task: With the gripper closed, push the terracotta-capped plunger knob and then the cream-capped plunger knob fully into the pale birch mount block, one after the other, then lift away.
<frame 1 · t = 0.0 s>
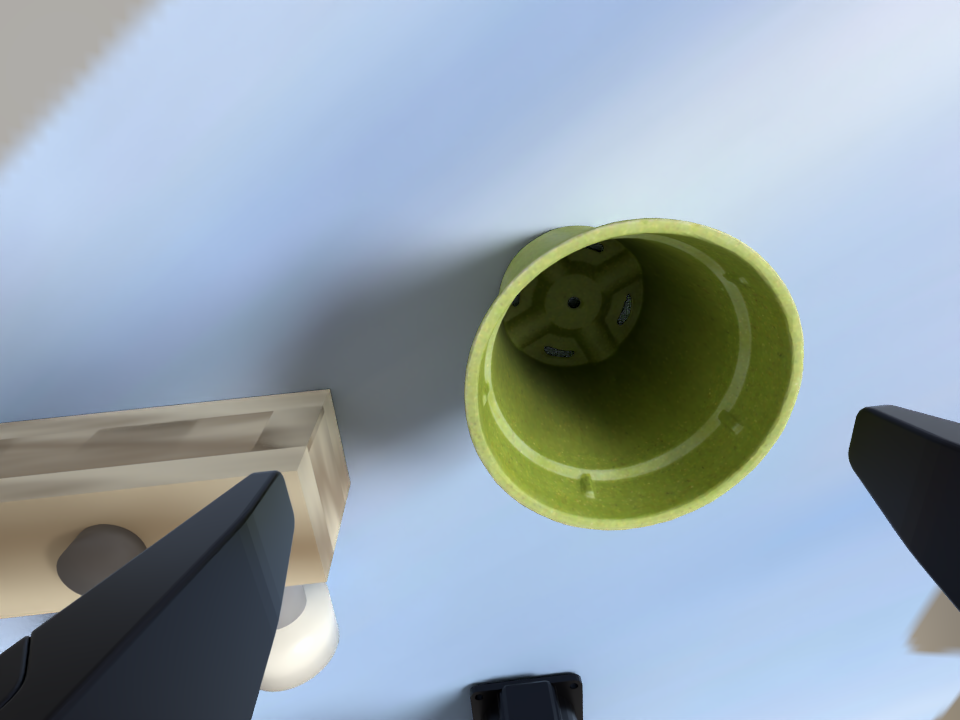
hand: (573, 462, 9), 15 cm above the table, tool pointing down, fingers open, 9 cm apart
plant pot: (567, 296, 23), on the table
knob 2: (273, 591, 25), point 3 cm above the table, slide at 4.0 cm
mount: (200, 499, 26), on the table
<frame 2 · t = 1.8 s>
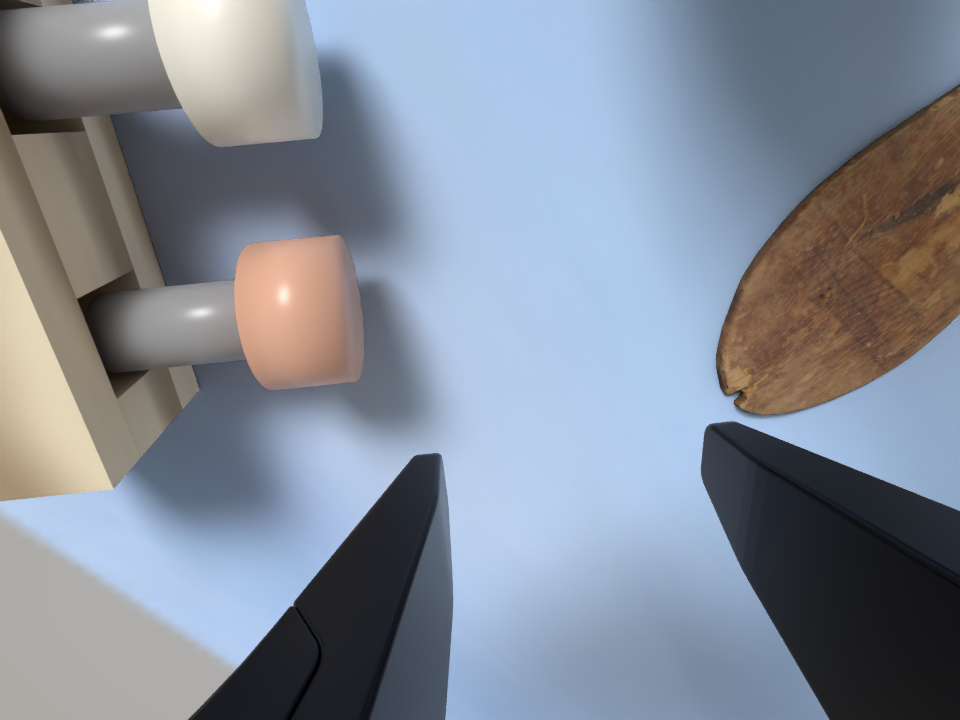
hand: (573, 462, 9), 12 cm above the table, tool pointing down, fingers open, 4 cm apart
knob 2: (156, 56, 14), point 3 cm above the table, slide at 4.0 cm
mount: (136, 196, 18), on the table
knob 1: (231, 320, 17), point 3 cm above the table, slide at 4.0 cm
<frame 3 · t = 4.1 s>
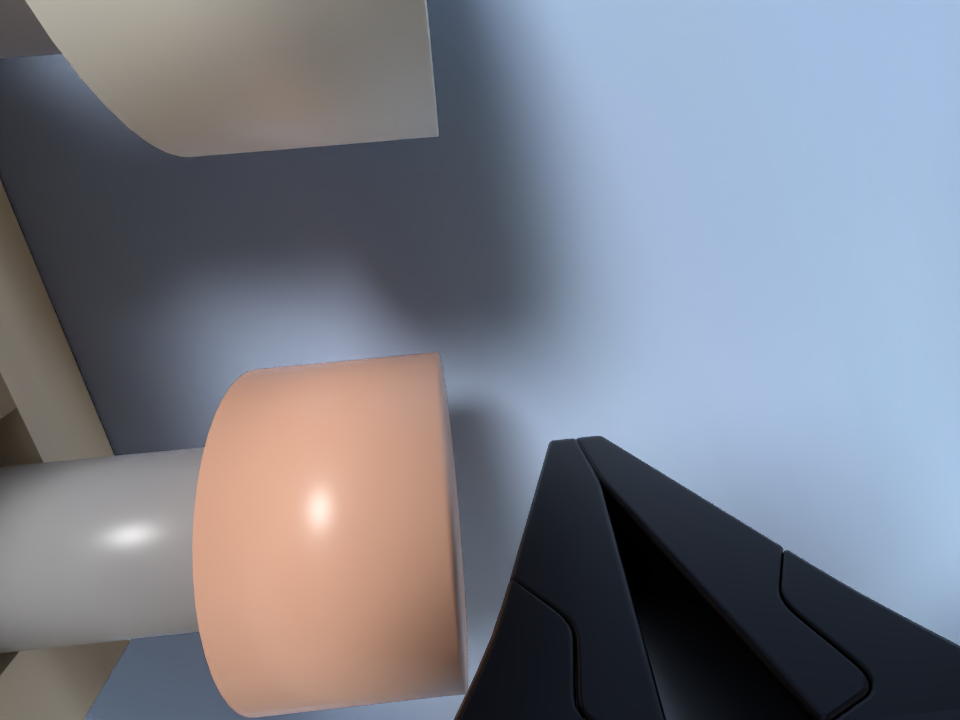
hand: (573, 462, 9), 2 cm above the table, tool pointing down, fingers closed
mount: (29, 251, 9), on the table
knob 1: (196, 536, 8), point 3 cm above the table, slide at 3.7 cm, touching gripper
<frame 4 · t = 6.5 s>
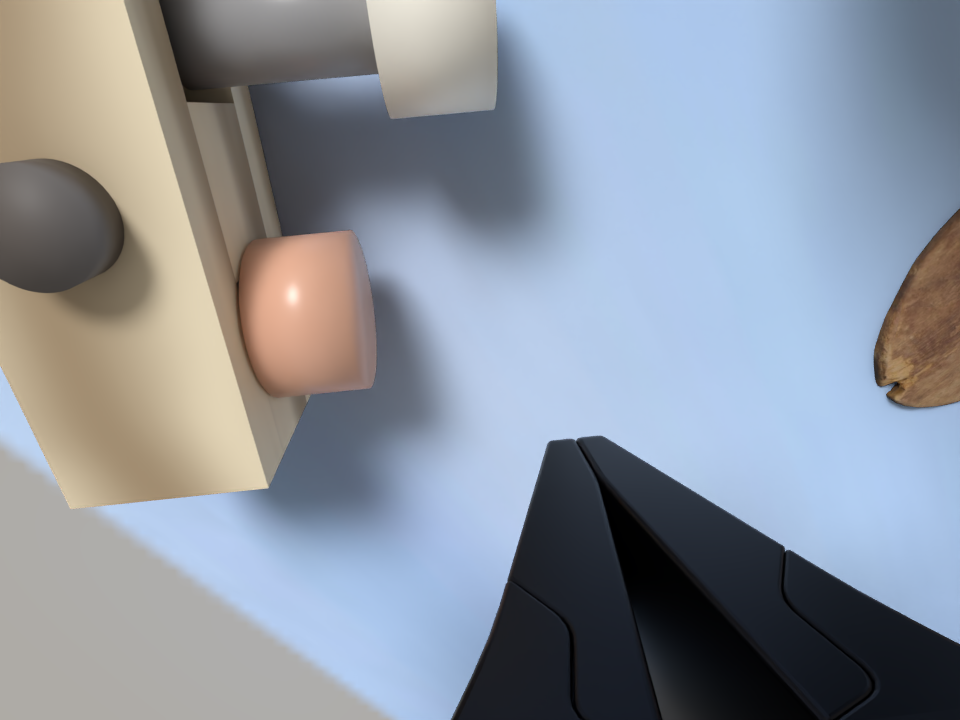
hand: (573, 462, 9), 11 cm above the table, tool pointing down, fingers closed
knob 2: (332, 18, 13), point 3 cm above the table, slide at 4.0 cm
mount: (268, 176, 17), on the table
knob 1: (235, 322, 15), point 3 cm above the table, slide at -0.1 cm
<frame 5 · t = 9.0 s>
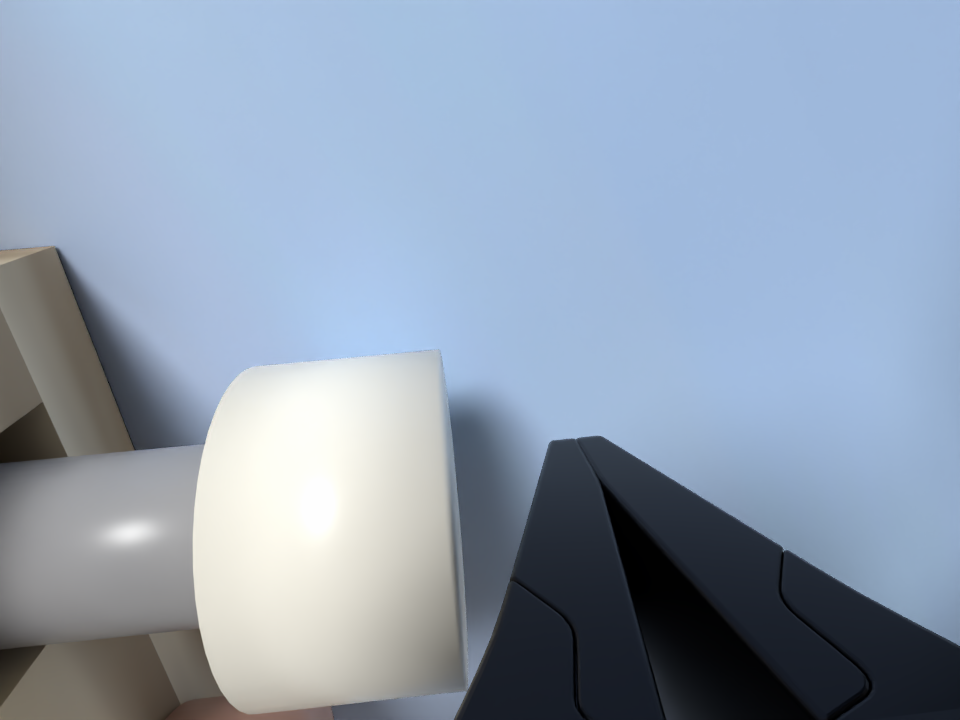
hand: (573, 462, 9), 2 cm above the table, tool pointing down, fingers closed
knob 2: (196, 533, 8), point 3 cm above the table, slide at 3.3 cm, touching gripper
mount: (183, 575, 12), on the table
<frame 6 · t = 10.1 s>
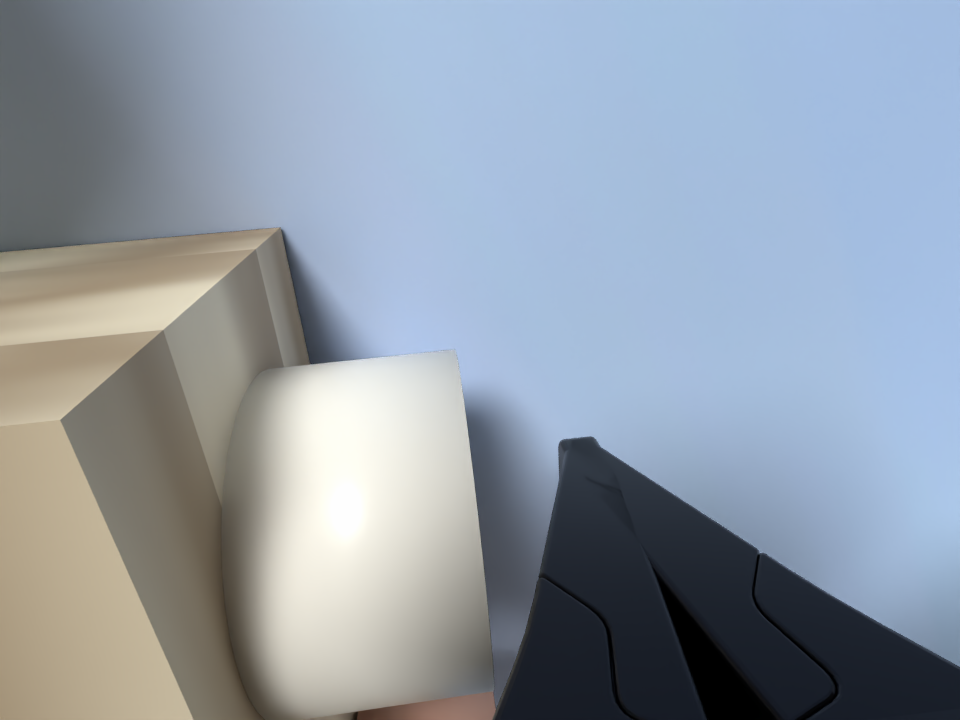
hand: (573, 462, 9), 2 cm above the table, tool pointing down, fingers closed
knob 2: (210, 540, 7), point 3 cm above the table, slide at -0.2 cm, touching gripper, mount
mount: (353, 562, 12), on the table
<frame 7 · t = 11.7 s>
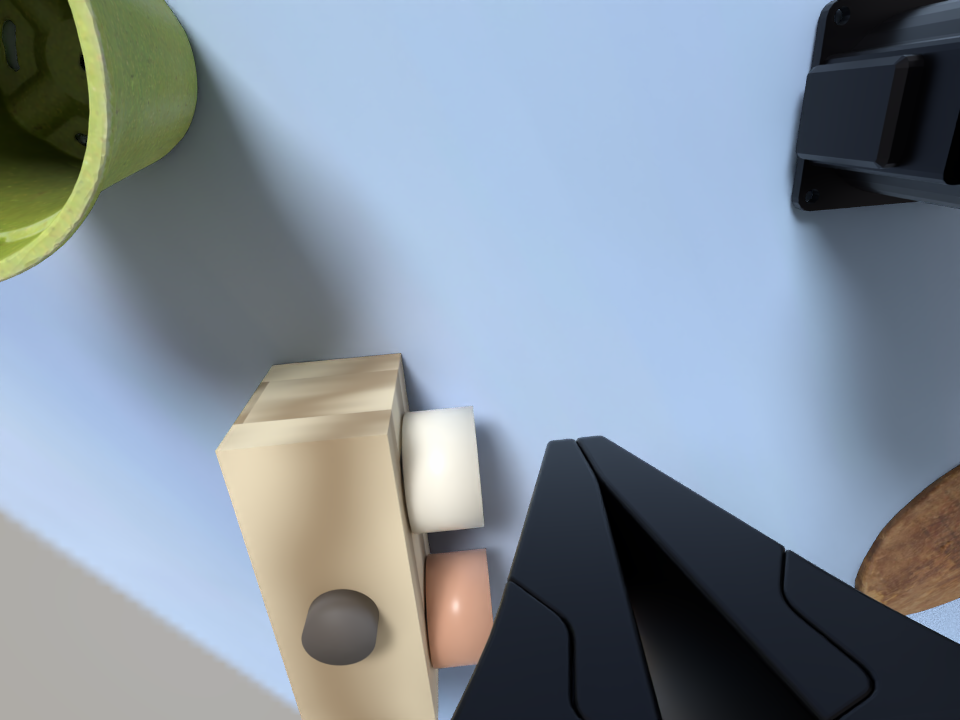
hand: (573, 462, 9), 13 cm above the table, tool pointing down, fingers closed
plant pot: (101, 68, 17), on the table
knob 2: (382, 474, 20), point 3 cm above the table, slide at -0.1 cm
mount: (421, 497, 25), on the table
knob 1: (407, 611, 23), point 3 cm above the table, slide at -0.1 cm
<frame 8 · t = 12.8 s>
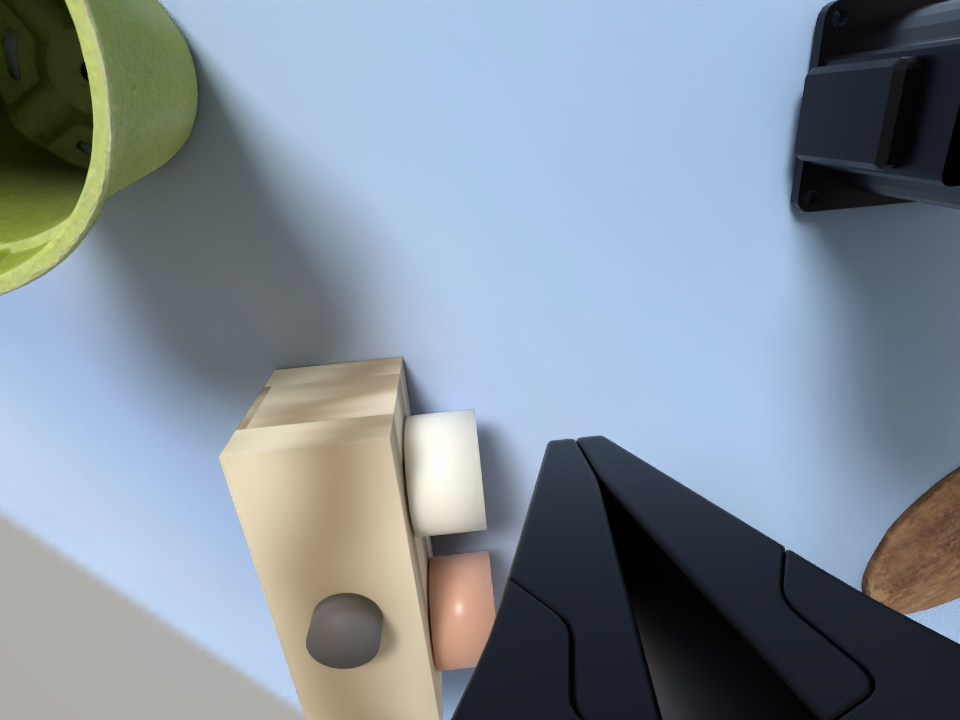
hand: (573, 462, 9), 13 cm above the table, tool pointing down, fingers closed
plant pot: (102, 76, 18), on the table
knob 2: (385, 478, 20), point 3 cm above the table, slide at -0.1 cm
mount: (424, 500, 25), on the table
knob 1: (411, 614, 23), point 3 cm above the table, slide at -0.1 cm
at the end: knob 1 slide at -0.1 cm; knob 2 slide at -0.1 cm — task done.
